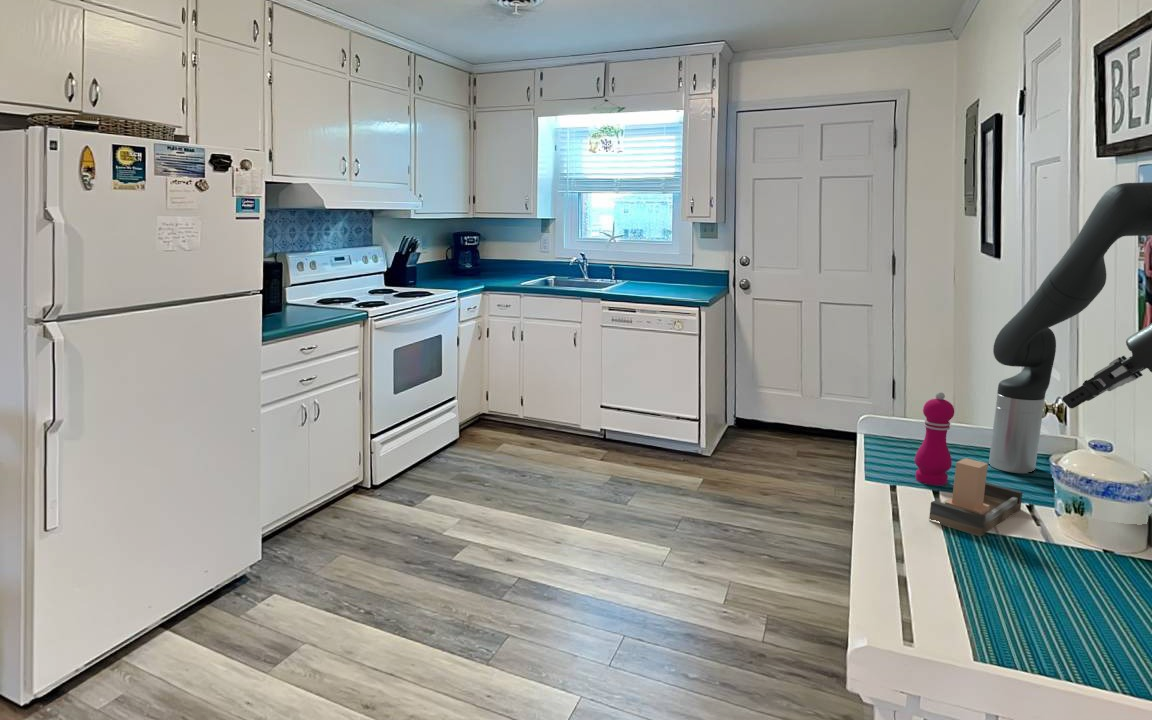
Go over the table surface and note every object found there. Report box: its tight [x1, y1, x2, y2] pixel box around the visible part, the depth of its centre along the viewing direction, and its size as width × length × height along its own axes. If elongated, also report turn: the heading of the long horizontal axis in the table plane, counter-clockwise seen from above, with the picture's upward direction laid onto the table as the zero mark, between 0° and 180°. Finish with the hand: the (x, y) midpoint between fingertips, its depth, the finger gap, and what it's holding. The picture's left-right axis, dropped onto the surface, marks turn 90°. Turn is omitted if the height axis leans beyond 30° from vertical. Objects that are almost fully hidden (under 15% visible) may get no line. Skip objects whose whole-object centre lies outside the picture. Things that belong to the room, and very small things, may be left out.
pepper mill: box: [914, 391, 955, 486], centre depth 152 cm, size 7×7×20 cm
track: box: [928, 482, 1024, 538], centre depth 134 cm, size 20×9×4 cm, turn 130°
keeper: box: [945, 457, 990, 515], centre depth 130 cm, size 5×6×10 cm
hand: (1074, 400), depth 116 cm, fingers open, 8 cm apart
